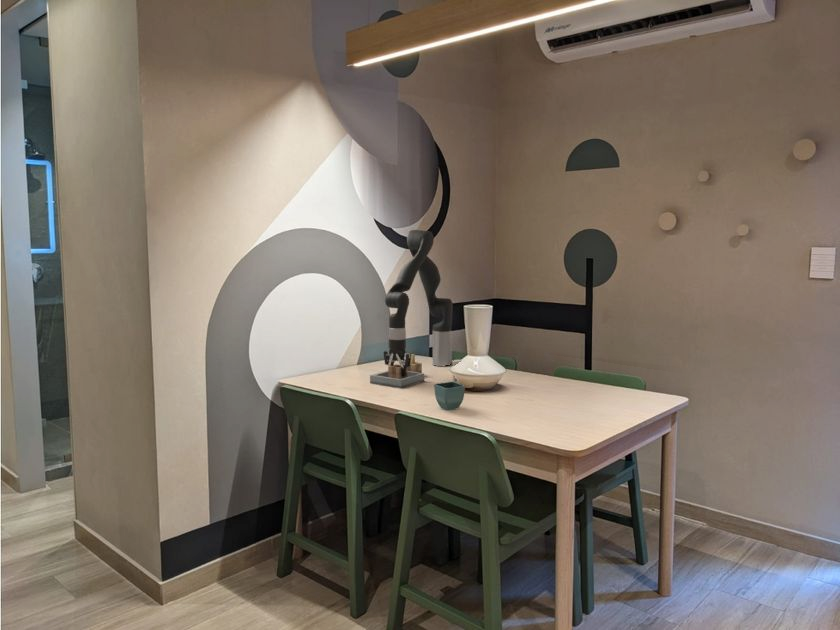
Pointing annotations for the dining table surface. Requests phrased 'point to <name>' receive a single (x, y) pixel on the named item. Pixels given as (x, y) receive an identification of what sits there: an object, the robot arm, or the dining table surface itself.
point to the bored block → (396, 372)
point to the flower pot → (449, 394)
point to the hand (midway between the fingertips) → (397, 375)
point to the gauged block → (414, 365)
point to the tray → (393, 382)
